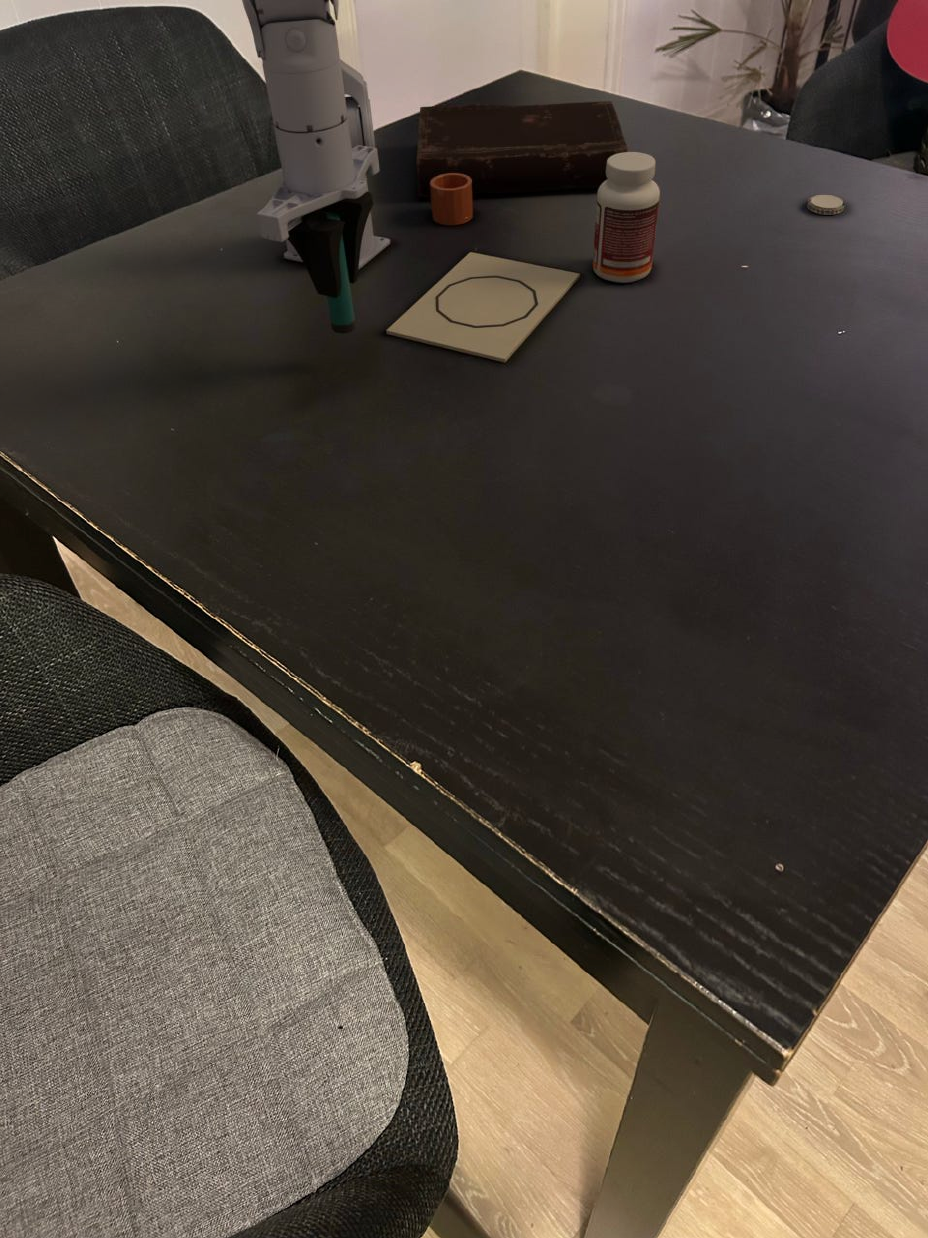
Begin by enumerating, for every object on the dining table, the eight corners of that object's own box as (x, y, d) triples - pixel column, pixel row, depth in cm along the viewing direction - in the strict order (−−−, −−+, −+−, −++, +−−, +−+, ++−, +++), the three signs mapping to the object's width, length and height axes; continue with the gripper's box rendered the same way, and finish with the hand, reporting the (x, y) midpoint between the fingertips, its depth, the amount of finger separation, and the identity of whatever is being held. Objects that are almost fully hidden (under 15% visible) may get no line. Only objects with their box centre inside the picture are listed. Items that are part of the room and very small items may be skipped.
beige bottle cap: (802, 209, 100) (803, 204, 100) (813, 196, 102) (815, 191, 102) (837, 217, 99) (838, 211, 98) (848, 203, 101) (849, 198, 100)
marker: (327, 330, 80) (308, 220, 73) (340, 319, 81) (322, 210, 74) (347, 335, 79) (330, 225, 72) (360, 324, 81) (344, 214, 73)
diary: (625, 192, 106) (629, 147, 102) (419, 202, 106) (415, 158, 103) (607, 135, 118) (610, 93, 115) (423, 144, 119) (420, 103, 115)
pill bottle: (663, 272, 92) (678, 162, 84) (618, 290, 90) (628, 178, 82) (624, 251, 96) (634, 143, 87) (580, 268, 94) (586, 159, 85)
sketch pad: (386, 333, 86) (386, 329, 86) (470, 255, 97) (470, 251, 96) (505, 362, 82) (505, 358, 81) (579, 277, 92) (580, 272, 92)
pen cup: (425, 221, 103) (422, 186, 100) (444, 205, 106) (442, 170, 103) (461, 228, 101) (459, 192, 98) (480, 211, 104) (479, 176, 101)
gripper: (299, 161, 62) (329, 336, 72) (402, 94, 70) (417, 259, 80) (220, 147, 64) (260, 318, 74) (329, 84, 72) (352, 245, 83)
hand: (337, 287), depth 77 cm, fingers closed on marker, 2 cm apart
